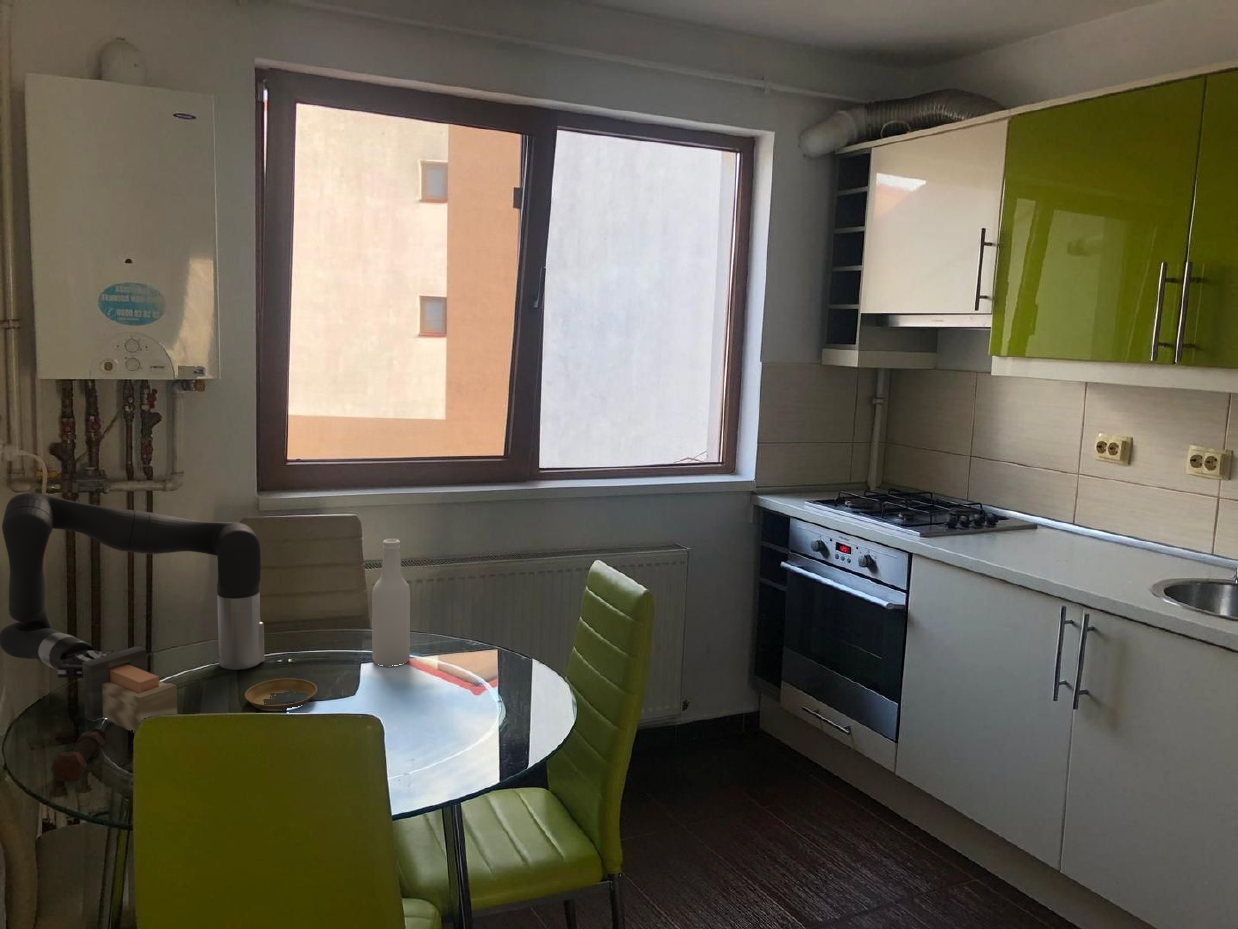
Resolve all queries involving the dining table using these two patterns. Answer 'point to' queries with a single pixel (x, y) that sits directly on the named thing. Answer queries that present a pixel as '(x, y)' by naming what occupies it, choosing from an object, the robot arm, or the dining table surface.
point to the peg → (133, 678)
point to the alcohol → (391, 610)
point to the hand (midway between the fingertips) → (110, 674)
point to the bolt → (78, 756)
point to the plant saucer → (279, 686)
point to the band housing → (124, 691)
